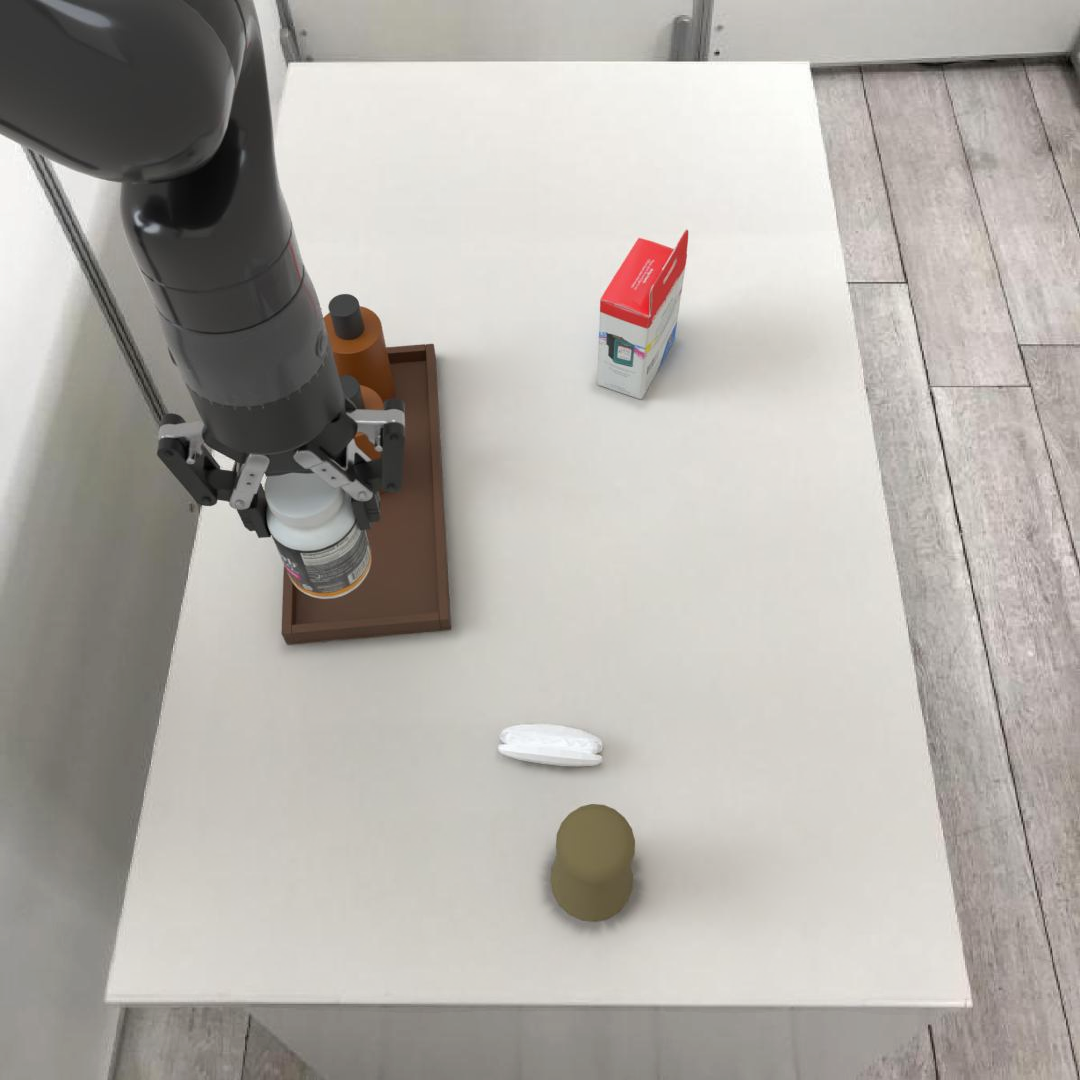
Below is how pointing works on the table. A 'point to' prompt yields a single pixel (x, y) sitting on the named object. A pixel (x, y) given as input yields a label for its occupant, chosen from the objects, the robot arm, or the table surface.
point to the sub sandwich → (551, 745)
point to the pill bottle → (316, 534)
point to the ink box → (640, 316)
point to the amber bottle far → (359, 345)
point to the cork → (593, 863)
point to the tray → (394, 534)
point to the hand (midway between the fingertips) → (315, 521)
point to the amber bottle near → (366, 401)
